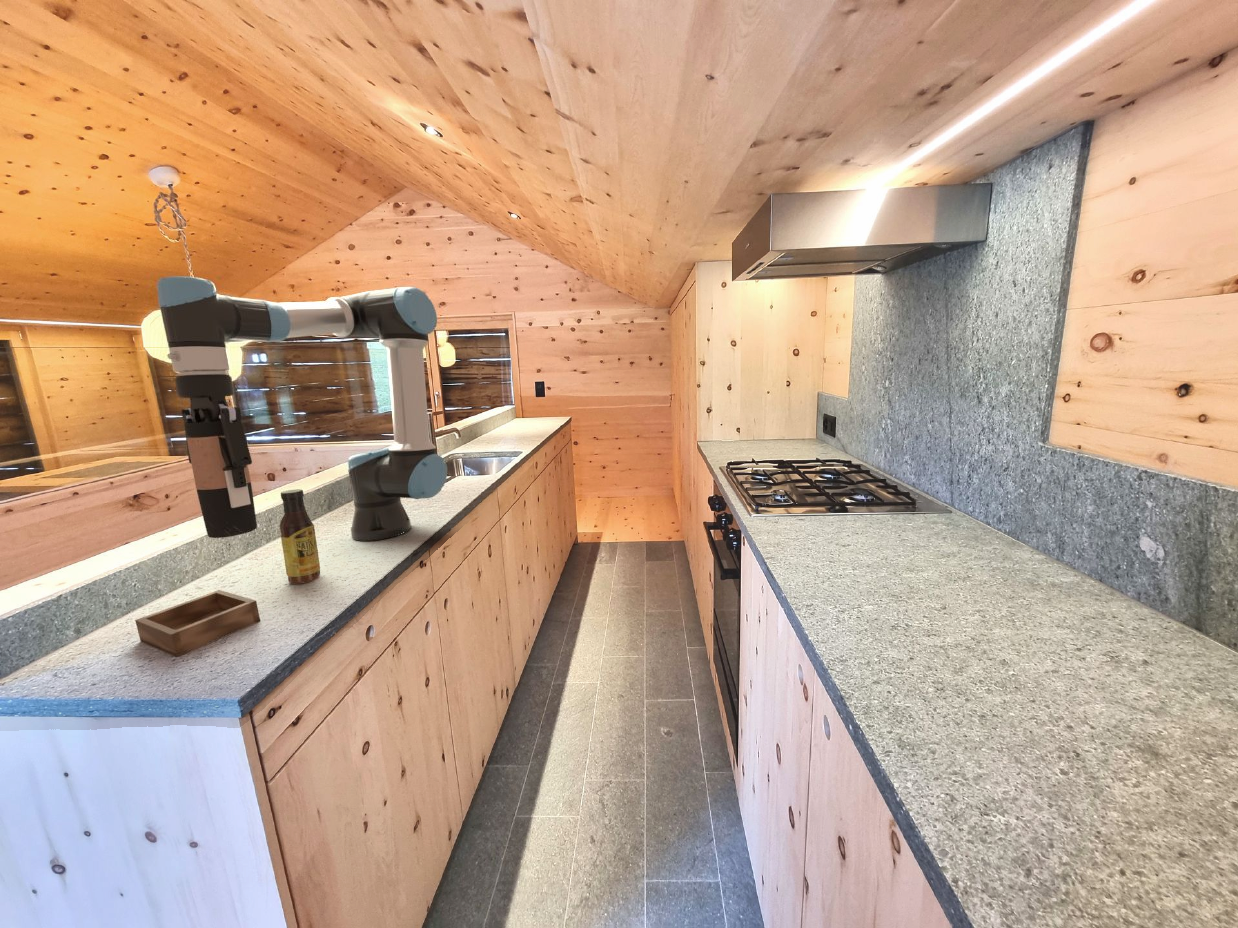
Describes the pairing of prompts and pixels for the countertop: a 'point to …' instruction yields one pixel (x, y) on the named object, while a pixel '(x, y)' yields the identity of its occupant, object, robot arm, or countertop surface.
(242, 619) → the rectangular wooden tray
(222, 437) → the robot arm
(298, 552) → the sauce bottle
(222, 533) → the travel mug
